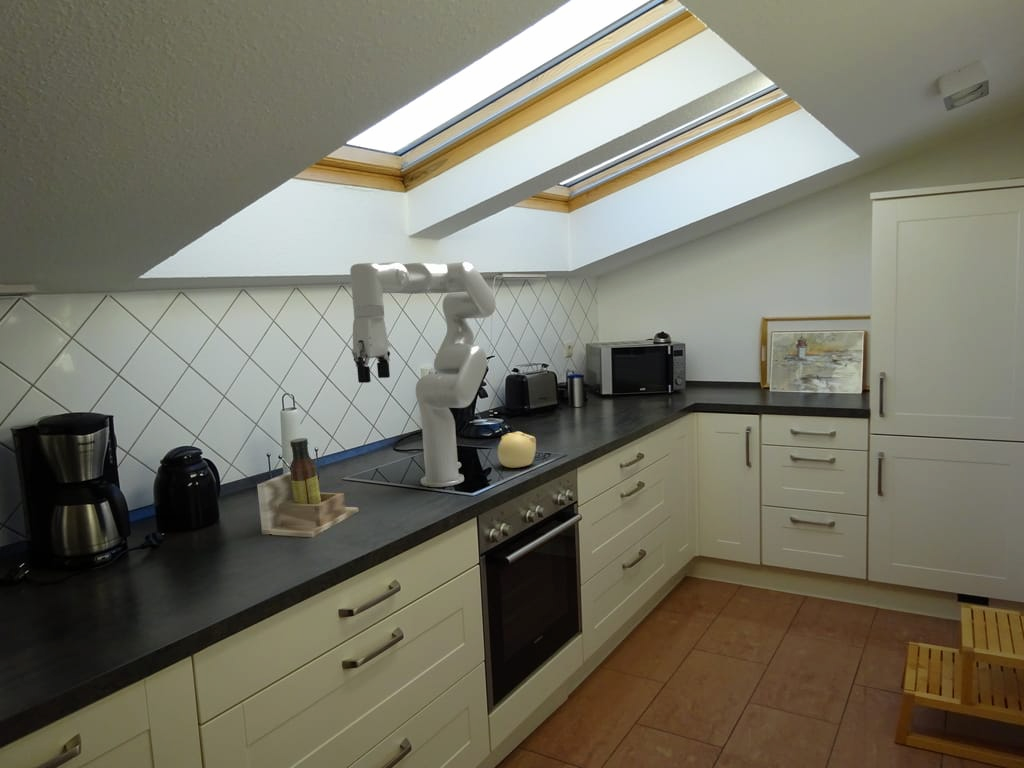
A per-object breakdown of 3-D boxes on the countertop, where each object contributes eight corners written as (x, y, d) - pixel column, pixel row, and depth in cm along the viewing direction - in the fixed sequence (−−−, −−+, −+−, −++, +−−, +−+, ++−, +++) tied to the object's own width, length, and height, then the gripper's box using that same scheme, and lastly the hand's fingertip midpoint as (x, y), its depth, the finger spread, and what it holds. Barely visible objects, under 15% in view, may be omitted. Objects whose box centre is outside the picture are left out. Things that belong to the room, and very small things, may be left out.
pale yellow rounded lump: (541, 462, 225) (539, 428, 224) (527, 471, 214) (525, 436, 213) (507, 461, 229) (505, 428, 228) (492, 470, 218) (490, 435, 217)
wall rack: (312, 509, 187) (307, 464, 186) (358, 511, 182) (354, 465, 181) (262, 534, 168) (257, 484, 167) (312, 537, 164) (307, 486, 162)
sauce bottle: (321, 512, 180) (313, 435, 177) (323, 519, 174) (315, 439, 171) (294, 516, 178) (286, 438, 175) (295, 523, 172) (287, 443, 169)
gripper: (373, 312, 189) (378, 376, 191) (337, 315, 173) (343, 384, 175) (398, 310, 186) (403, 375, 188) (364, 313, 170) (370, 384, 172)
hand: (374, 379), depth 182 cm, fingers open, 9 cm apart
